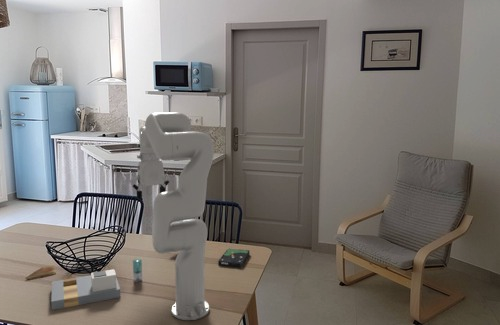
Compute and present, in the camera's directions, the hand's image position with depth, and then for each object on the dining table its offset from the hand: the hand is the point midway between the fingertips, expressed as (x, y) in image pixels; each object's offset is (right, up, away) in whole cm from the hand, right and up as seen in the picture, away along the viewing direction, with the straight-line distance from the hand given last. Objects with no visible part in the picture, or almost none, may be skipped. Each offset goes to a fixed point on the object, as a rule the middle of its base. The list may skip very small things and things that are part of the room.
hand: (151, 198), depth 169 cm
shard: (-41, -31, -5) cm, 52 cm away
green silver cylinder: (-3, -31, -9) cm, 32 cm away
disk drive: (+34, -29, +11) cm, 46 cm away
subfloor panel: (-19, -33, -20) cm, 43 cm away
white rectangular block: (-12, -30, -22) cm, 39 cm away
